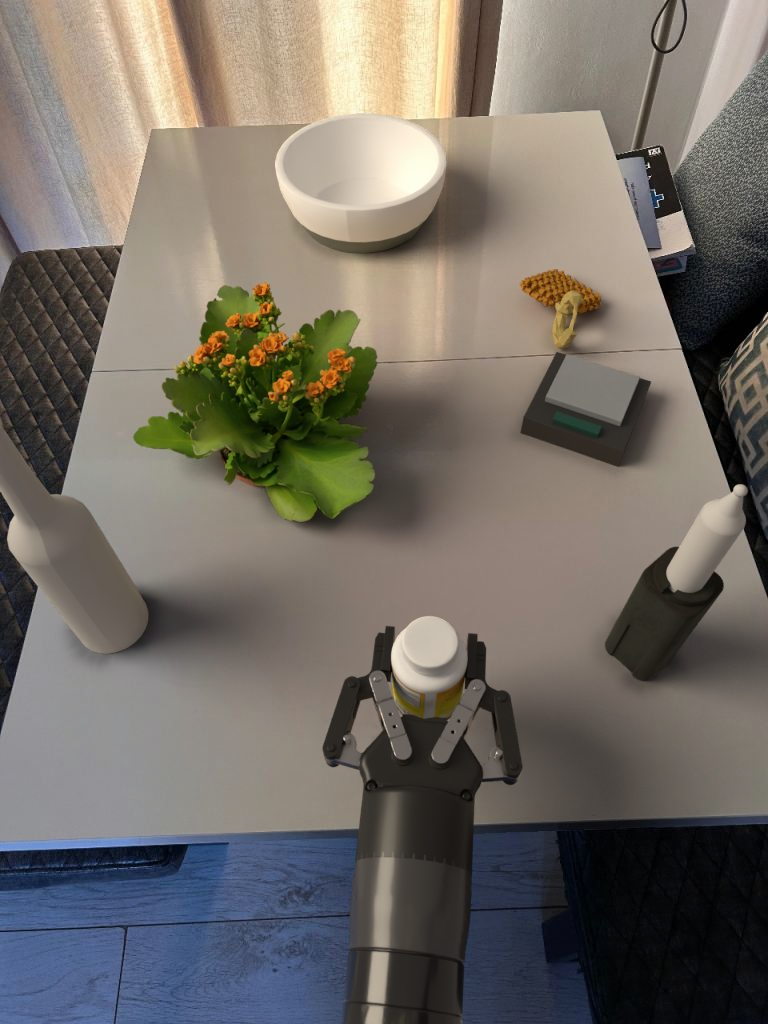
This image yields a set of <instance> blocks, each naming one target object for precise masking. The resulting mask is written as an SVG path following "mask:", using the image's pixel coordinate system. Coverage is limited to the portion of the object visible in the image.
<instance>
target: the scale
mask: <svg viewBox="0 0 768 1024" xmlns="http://www.w3.org/2000/svg"><path fill="white" fill-rule="evenodd" d="M651 384H652V381H651V380H648V379H645V378H642V377H641V376H638V375H635V374H632V373H630V372H626V371H622V370H620V369H617V368H613V367H610V366H607V365H603V364H600V363H597V362H595V361H591V360H588V359H584V358H581V357H578V356H575V355H571V354H568V353H566V354H565V353H563V352H559V351H556V352H555V354H554V355H553V358H552V360H551V362H550V364H549V366H548V368H547V370H546V372H545V374H544V376H543V378H542V379H541V382H540V383H539V386H538V388H537V389H536V392H535V394H534V396H533V398H532V400H531V401H530V403H529V405H528V408H527V410H526V412H525V413H524V415H523V418H522V423H521V428H520V434H523V435H525V436H528V437H531V438H534V439H537V440H540V441H543V442H545V443H549V444H552V445H555V446H557V447H560V448H563V449H567V450H569V451H572V452H575V453H577V454H581V455H583V456H586V457H589V458H591V459H595V460H598V461H600V462H603V463H606V464H609V465H612V466H615V467H619V465H620V463H621V460H622V458H623V455H624V452H625V450H626V447H627V444H628V442H629V441H630V440H629V439H630V438H631V435H632V432H633V430H634V427H635V425H636V422H637V420H638V417H639V414H640V413H641V409H642V407H643V404H644V402H645V400H646V396H647V395H648V392H649V389H650V386H651Z"/></svg>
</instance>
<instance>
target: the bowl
mask: <svg viewBox="0 0 768 1024" xmlns="http://www.w3.org/2000/svg"><path fill="white" fill-rule="evenodd" d="M447 162H448V157H447V154H446V150H445V148H444V145H443V144H442V143H441V141H440V140H439V138H438V137H436V136H435V134H433V133H432V132H431V131H429V130H428V129H426V128H425V127H423V126H421V125H420V124H418V123H416V122H413V121H411V120H408V119H405V118H402V117H397V116H394V115H389V114H381V113H365V112H364V113H361V112H360V113H348V114H347V113H346V114H340V115H335V116H330V117H326V118H322V119H320V120H317V121H314V122H312V123H309V124H308V125H306V126H303V127H301V128H300V129H298V130H297V131H296V132H294V133H292V134H291V135H290V136H289V137H288V138H287V139H286V140H285V141H284V142H283V143H282V144H281V146H280V148H279V150H278V151H277V153H276V157H275V161H274V166H275V175H276V179H277V182H278V187H279V190H280V193H281V195H282V197H283V199H284V201H285V203H286V205H287V206H288V208H289V210H290V212H291V213H292V216H293V217H294V218H295V219H296V221H298V223H299V224H300V225H301V226H302V227H303V228H304V230H306V232H307V233H308V234H309V236H310V237H311V238H312V239H314V240H315V241H317V242H318V243H319V244H322V245H323V246H325V247H328V248H329V249H332V250H337V251H339V252H345V253H352V254H367V253H378V252H382V251H386V250H390V249H393V248H395V247H398V246H400V245H402V244H404V243H406V242H407V241H409V240H410V239H412V238H413V237H414V236H415V235H416V234H417V233H418V231H419V230H420V229H421V227H422V226H423V224H424V223H425V222H426V220H427V219H428V217H429V216H430V215H431V213H432V212H433V211H434V209H435V207H436V204H437V202H438V200H439V199H440V195H441V193H442V190H443V188H444V185H445V179H446V172H447V168H448V167H447V166H448V163H447Z"/></svg>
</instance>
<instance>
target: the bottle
mask: <svg viewBox="0 0 768 1024" xmlns="http://www.w3.org/2000/svg"><path fill="white" fill-rule="evenodd" d="M3 424H4V423H3V421H2V418H1V417H0V493H1V496H2V497H3V499H4V500H5V502H6V503H7V505H8V506H9V508H10V510H11V512H12V513H13V517H12V519H11V520H10V522H9V526H8V531H7V537H6V541H7V545H8V550H9V551H10V553H11V554H12V555H13V556H14V558H15V559H16V560H17V562H18V563H19V564H20V565H21V567H22V568H23V570H24V571H25V572H26V573H27V574H28V576H29V577H30V579H31V580H32V581H33V582H34V583H35V586H37V587H38V588H39V590H40V591H41V592H42V594H43V595H44V597H46V599H47V600H48V601H49V603H50V604H51V605H52V607H53V608H54V609H55V610H56V612H57V613H58V614H59V616H60V617H61V618H62V619H63V621H64V622H65V623H66V625H67V626H68V628H70V630H71V631H72V632H73V633H74V635H75V636H76V637H77V638H78V640H80V642H81V644H83V646H84V647H85V648H86V649H88V650H90V651H92V652H94V653H98V654H103V655H104V654H105V655H106V654H108V655H109V654H115V653H119V652H122V651H124V650H126V649H128V648H130V647H131V646H132V645H134V644H135V643H136V642H137V641H138V640H139V639H140V638H141V637H142V636H143V634H144V632H145V631H146V630H147V626H148V623H149V616H150V615H149V613H150V612H149V609H148V606H147V603H146V601H145V600H144V599H143V597H142V594H141V593H140V591H139V590H138V588H137V586H136V585H135V583H134V581H133V579H132V577H131V576H130V574H129V573H128V571H127V570H126V568H125V567H124V564H123V563H122V562H121V560H120V558H119V557H118V555H117V553H116V552H115V550H114V549H113V547H112V545H111V544H110V542H109V540H108V538H107V537H106V536H105V533H104V532H103V530H102V529H101V527H100V526H99V524H98V522H97V521H96V519H95V518H94V515H93V514H92V512H91V511H90V509H88V508H87V507H88V506H86V505H85V504H84V503H83V501H80V500H79V499H77V498H75V497H73V496H69V495H65V494H58V493H55V494H51V493H50V492H49V491H48V489H47V488H46V487H45V485H43V483H42V482H41V481H40V479H39V478H38V477H37V476H36V474H35V473H34V472H33V470H32V469H31V468H30V466H29V463H27V461H26V460H25V458H24V457H23V455H22V454H21V452H20V451H19V450H18V448H17V446H16V444H14V442H13V441H12V439H11V438H10V436H9V434H8V433H7V431H6V430H5V428H4V427H3Z"/></svg>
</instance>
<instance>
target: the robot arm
mask: <svg viewBox="0 0 768 1024" xmlns="http://www.w3.org/2000/svg"><path fill="white" fill-rule="evenodd" d="M478 636H479V635H478V633H473V632H472V633H471V632H467V640H466V649H467V656H468V659H467V668H466V674H465V680H464V690H465V691H464V693H463V694H462V698H461V700H460V702H459V703H458V705H457V706H456V708H455V710H454V712H453V714H452V716H451V717H450V719H449V720H448V721H447V718H442V717H433V718H427V719H423V718H421V717H418V716H415V715H409V714H402V715H401V714H400V712H399V711H398V709H397V706H396V703H395V700H394V698H393V693H392V691H391V688H390V685H389V683H392V666H391V652H392V647H393V644H394V642H395V640H396V626H392V625H385V627H384V632H377V635H376V636H375V638H374V644H373V645H374V646H373V655H372V663H371V669H370V671H369V673H368V674H366V675H363V676H359V677H356V676H354V675H351V676H347V677H346V678H345V679H344V681H343V684H342V687H341V689H340V693H339V695H338V699H337V701H336V705H335V707H334V711H333V714H332V717H331V719H330V722H329V726H328V729H327V732H326V734H325V738H324V741H323V743H322V748H321V749H322V754H323V757H324V761H325V764H326V765H327V766H328V767H330V768H337V767H339V766H343V767H346V768H350V769H354V770H356V771H359V775H360V777H361V779H362V783H363V785H362V786H363V787H362V788H363V789H362V796H361V806H360V814H359V822H358V833H357V841H356V850H355V858H354V868H353V876H352V879H351V891H350V892H351V893H350V900H349V901H350V903H349V942H348V943H349V945H348V949H349V950H350V951H348V955H347V963H346V964H347V965H346V971H345V972H346V973H345V982H344V989H343V990H344V991H343V999H342V1001H343V1002H342V1009H341V1017H340V1024H463V1017H462V1016H463V1013H464V1011H463V1010H464V986H465V964H464V963H465V962H466V951H467V946H468V945H467V944H468V938H469V932H470V925H471V913H472V896H473V891H472V890H473V889H472V885H473V884H472V882H473V858H474V857H473V856H474V833H475V832H474V830H475V805H476V794H477V792H478V791H479V789H480V787H481V786H482V783H489V782H492V783H493V782H503V783H504V784H505V785H507V786H513V785H515V784H517V782H518V781H519V778H520V776H521V774H522V772H523V769H524V768H523V760H522V755H521V749H520V743H519V739H518V732H517V726H516V721H515V715H514V708H513V703H512V698H511V694H510V693H509V692H508V691H507V690H503V689H500V690H497V689H495V688H493V687H491V686H490V685H489V684H488V683H487V680H486V671H487V668H486V667H487V645H486V643H485V642H484V641H479V640H478ZM369 699H372V701H373V704H374V707H375V710H376V714H377V718H378V721H379V725H380V727H381V731H380V733H379V734H378V735H377V736H376V737H375V738H374V739H373V740H372V741H371V743H370V744H369V745H368V746H367V747H366V748H365V750H364V751H363V752H362V753H361V752H360V751H358V749H357V747H358V746H357V739H356V737H355V735H354V734H353V733H352V730H353V727H354V723H355V720H356V718H357V714H358V711H359V707H360V705H361V701H364V700H369ZM480 709H482V710H484V711H486V712H488V713H490V715H491V723H492V726H493V727H492V728H493V729H492V730H493V735H494V742H495V747H493V748H491V750H490V751H489V753H488V758H487V762H486V763H484V764H482V763H481V762H480V761H479V759H478V758H477V755H475V753H474V751H473V750H472V748H471V746H470V745H469V744H468V742H467V740H466V739H465V738H467V735H468V733H469V731H470V729H471V727H472V724H473V722H474V720H475V717H476V716H477V714H478V712H479V710H480Z"/></svg>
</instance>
